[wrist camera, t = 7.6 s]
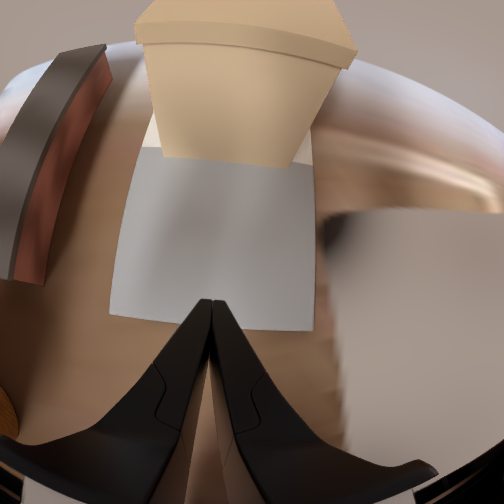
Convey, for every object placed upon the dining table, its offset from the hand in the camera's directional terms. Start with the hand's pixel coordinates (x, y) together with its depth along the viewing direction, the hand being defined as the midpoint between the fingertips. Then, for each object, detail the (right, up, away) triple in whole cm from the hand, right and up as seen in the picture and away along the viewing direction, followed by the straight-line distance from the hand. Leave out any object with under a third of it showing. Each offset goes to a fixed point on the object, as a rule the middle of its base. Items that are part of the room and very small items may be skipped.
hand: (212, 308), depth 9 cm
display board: (0, +9, +10) cm, 14 cm away
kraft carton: (0, +15, +11) cm, 19 cm away
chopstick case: (-15, +9, +8) cm, 20 cm away
